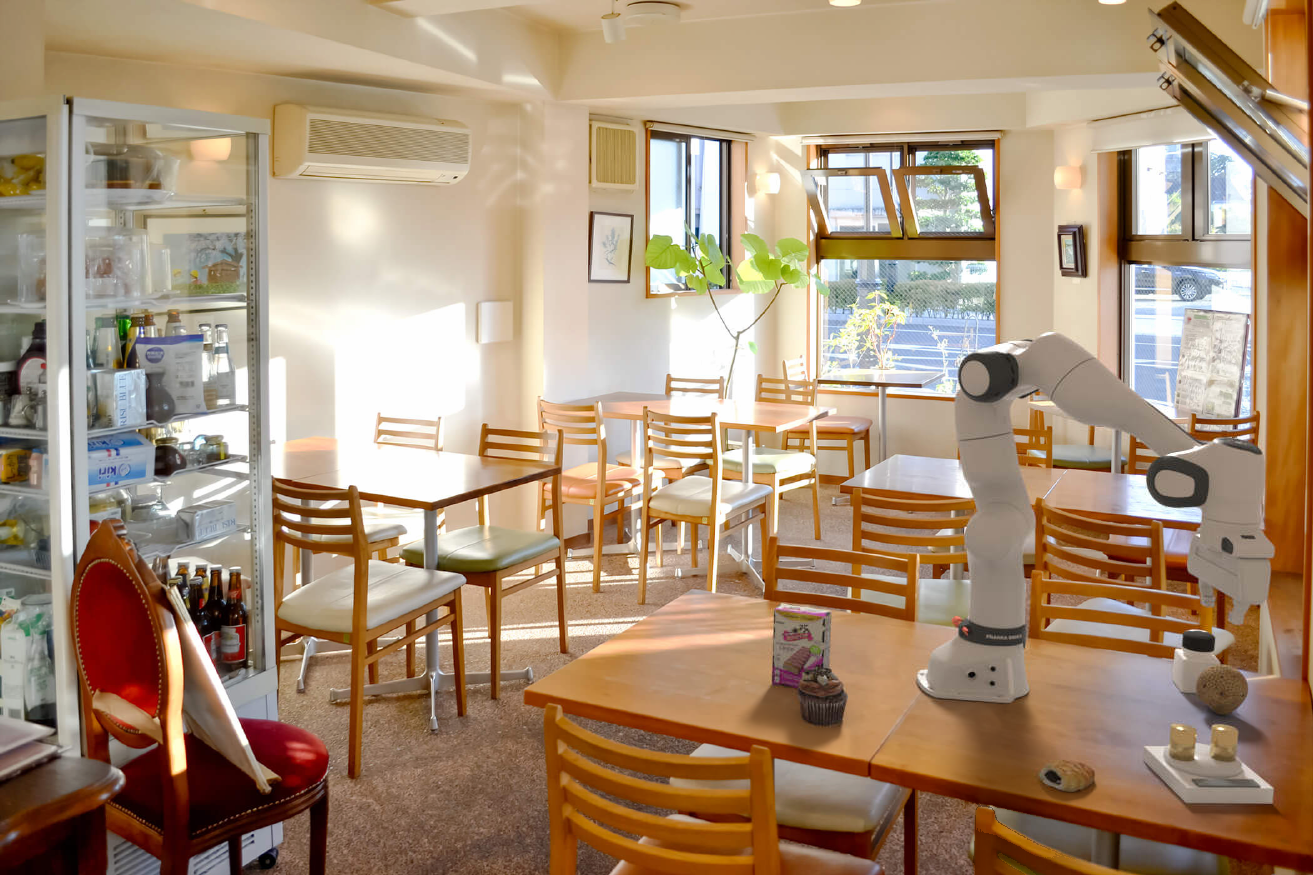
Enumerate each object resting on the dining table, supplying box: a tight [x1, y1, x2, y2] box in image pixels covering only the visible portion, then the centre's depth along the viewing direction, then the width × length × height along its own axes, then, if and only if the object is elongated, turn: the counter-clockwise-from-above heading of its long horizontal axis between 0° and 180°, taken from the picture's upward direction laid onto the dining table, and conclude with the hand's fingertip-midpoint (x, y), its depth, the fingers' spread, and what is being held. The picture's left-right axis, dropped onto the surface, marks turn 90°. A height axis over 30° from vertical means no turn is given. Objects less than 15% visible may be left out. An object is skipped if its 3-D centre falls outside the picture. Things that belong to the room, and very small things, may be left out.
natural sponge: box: [1195, 664, 1249, 716], centre depth 214 cm, size 9×9×10 cm
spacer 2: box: [1209, 723, 1239, 762], centre depth 187 cm, size 4×4×5 cm
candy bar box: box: [771, 603, 832, 689], centre depth 228 cm, size 11×5×16 cm, turn 65°
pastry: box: [1038, 759, 1096, 793], centre depth 186 cm, size 9×7×4 cm
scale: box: [1142, 742, 1274, 805], centre depth 186 cm, size 14×16×4 cm
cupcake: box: [796, 665, 849, 727], centre depth 212 cm, size 10×10×10 cm
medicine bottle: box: [1172, 629, 1222, 694], centre depth 228 cm, size 7×7×12 cm
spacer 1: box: [1168, 723, 1197, 762], centre depth 187 cm, size 4×4×5 cm
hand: (1221, 614), depth 187 cm, fingers open, 8 cm apart
